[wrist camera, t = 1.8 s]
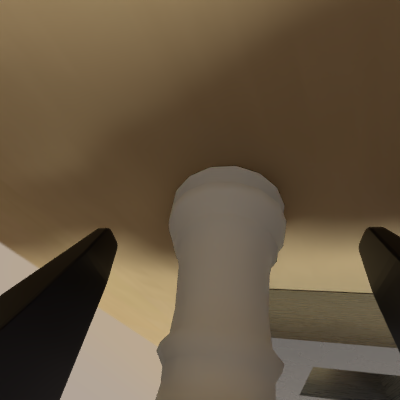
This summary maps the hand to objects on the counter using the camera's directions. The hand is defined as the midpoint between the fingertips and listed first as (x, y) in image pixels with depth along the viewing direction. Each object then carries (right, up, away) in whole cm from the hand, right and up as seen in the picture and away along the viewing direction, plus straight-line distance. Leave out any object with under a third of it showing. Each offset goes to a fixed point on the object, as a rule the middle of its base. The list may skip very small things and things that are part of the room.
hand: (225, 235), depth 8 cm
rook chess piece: (0, +1, +2) cm, 2 cm away
